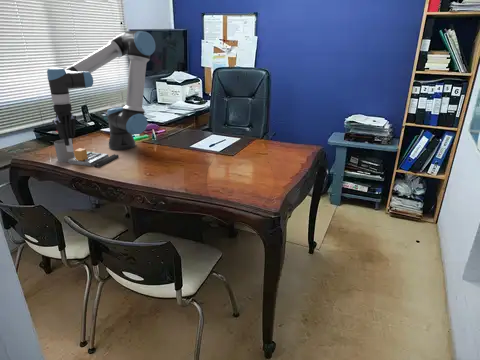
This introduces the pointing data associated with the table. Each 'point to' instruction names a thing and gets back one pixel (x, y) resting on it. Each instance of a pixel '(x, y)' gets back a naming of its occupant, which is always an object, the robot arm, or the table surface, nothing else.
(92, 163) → the panel
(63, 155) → the cup
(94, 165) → the black bar
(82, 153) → the tan wooden block
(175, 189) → the table surface
